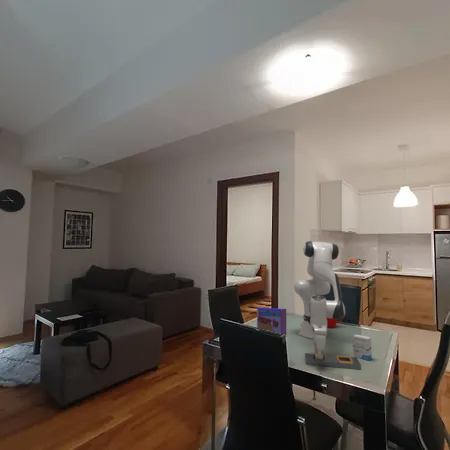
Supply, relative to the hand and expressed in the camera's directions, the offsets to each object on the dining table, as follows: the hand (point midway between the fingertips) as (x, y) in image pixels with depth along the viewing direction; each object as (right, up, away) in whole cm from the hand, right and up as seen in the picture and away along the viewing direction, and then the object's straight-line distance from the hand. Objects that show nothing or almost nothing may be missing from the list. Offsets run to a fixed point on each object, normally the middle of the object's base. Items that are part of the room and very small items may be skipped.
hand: (318, 352), depth 159 cm
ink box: (+27, -6, +7) cm, 29 cm away
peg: (0, -5, 0) cm, 5 cm away
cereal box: (-23, -6, +19) cm, 30 cm away
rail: (+6, -5, -2) cm, 8 cm away
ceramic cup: (+33, -11, +71) cm, 79 cm away
